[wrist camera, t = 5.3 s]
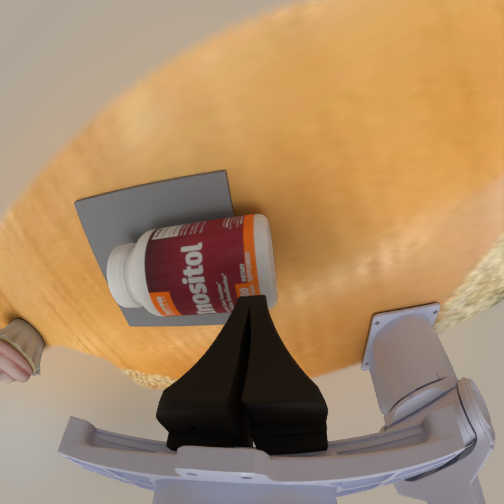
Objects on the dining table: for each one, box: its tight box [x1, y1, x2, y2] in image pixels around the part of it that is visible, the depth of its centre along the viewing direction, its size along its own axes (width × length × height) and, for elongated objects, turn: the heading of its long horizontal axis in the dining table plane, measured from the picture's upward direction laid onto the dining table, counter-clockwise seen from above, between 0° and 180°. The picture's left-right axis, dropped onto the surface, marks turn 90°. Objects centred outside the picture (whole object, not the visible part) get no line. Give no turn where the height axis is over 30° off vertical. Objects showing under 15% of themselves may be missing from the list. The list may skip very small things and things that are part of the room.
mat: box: [74, 170, 234, 326], centre depth 23 cm, size 14×13×1 cm
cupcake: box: [0, 319, 44, 383], centre depth 27 cm, size 9×9×10 cm
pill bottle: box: [107, 214, 277, 316], centre depth 19 cm, size 6×6×11 cm
